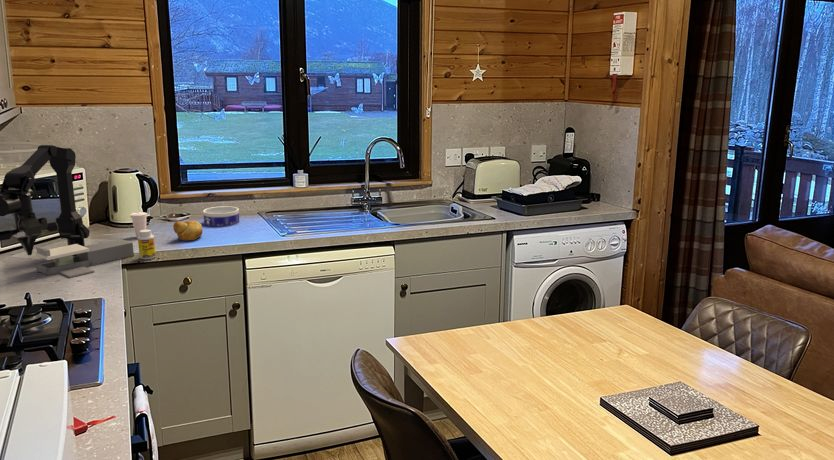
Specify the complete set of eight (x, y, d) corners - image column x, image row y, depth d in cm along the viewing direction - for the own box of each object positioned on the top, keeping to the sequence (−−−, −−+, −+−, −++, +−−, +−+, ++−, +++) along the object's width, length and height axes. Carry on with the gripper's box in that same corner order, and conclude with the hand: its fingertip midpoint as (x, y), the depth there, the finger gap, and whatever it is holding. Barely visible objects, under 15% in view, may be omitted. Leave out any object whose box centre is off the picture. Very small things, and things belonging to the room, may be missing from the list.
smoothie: (152, 235, 281) (149, 202, 278) (140, 239, 275) (137, 205, 272) (141, 234, 284) (137, 201, 280) (129, 237, 278) (125, 204, 275)
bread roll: (188, 233, 285) (186, 215, 283) (209, 234, 283) (208, 215, 281) (172, 241, 272) (170, 222, 270) (194, 242, 271) (193, 223, 269)
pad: (59, 273, 232) (59, 271, 232) (83, 267, 238) (83, 266, 238) (70, 278, 227) (69, 276, 227) (94, 272, 233) (93, 270, 233)
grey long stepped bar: (36, 270, 235) (34, 256, 234) (122, 251, 258) (120, 238, 257) (47, 275, 230) (45, 261, 229) (133, 255, 252) (132, 242, 251)
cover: (35, 254, 235) (34, 246, 234) (76, 246, 245) (75, 238, 245) (47, 260, 229) (46, 251, 228) (89, 251, 239) (88, 243, 238)
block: (55, 268, 238) (53, 255, 237) (68, 265, 241) (66, 253, 240) (61, 270, 235) (59, 258, 234) (74, 267, 238) (72, 255, 237)
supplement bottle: (141, 260, 246) (138, 233, 244) (138, 257, 251) (135, 230, 248) (157, 258, 249) (155, 231, 247) (154, 254, 254) (151, 228, 251)
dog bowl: (247, 221, 306) (246, 208, 305) (220, 228, 294) (219, 214, 292) (223, 217, 314) (222, 204, 313) (196, 224, 302) (195, 210, 300)
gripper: (1, 218, 213) (8, 265, 217) (62, 208, 227) (68, 253, 231) (-13, 213, 220) (-5, 259, 224) (48, 203, 234) (54, 247, 238)
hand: (29, 255), depth 229 cm, fingers closed
